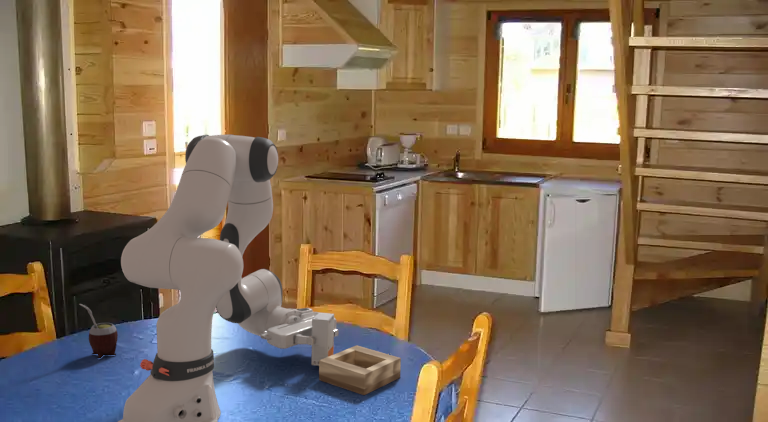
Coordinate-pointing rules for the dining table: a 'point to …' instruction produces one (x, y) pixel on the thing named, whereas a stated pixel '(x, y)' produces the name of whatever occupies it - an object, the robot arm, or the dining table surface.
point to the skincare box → (322, 337)
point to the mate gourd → (102, 337)
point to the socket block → (359, 369)
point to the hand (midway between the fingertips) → (325, 337)
